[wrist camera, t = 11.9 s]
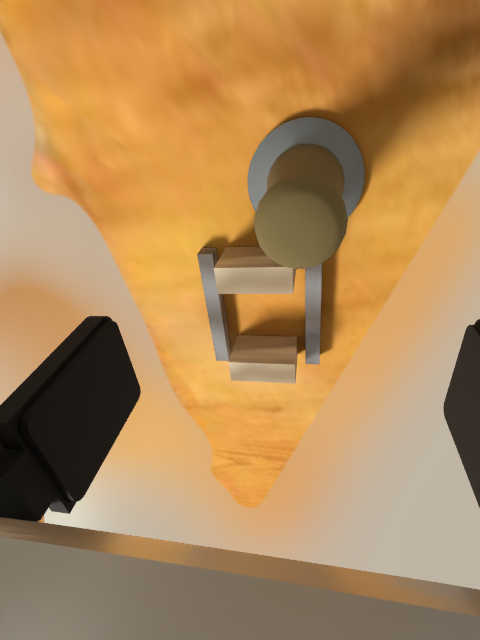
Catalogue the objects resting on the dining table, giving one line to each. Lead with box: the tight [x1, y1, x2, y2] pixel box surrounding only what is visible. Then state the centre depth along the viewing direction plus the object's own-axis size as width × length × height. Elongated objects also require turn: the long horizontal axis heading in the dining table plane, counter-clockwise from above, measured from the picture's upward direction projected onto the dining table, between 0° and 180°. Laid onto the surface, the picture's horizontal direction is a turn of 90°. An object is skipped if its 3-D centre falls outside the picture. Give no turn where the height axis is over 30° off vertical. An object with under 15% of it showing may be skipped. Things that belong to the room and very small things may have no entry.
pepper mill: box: [255, 144, 348, 269], centre depth 23 cm, size 6×6×11 cm
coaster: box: [248, 117, 365, 218], centre depth 28 cm, size 9×9×1 cm
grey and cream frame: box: [197, 246, 322, 384], centre depth 33 cm, size 12×11×4 cm
